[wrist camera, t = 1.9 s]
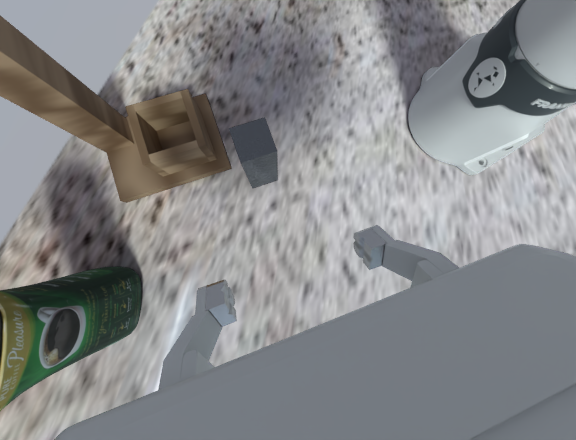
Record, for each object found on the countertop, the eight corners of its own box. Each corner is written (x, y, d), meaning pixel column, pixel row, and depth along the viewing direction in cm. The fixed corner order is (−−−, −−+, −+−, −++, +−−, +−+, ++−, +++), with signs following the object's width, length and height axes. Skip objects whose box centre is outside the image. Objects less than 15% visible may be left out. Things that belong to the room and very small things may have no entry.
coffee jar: (89, 266, 29) (-238, 304, 11) (147, 265, 29) (-72, 300, 11) (82, 339, 28) (-296, 522, 10) (142, 337, 28) (-110, 510, 10)
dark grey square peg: (269, 156, 32) (264, 117, 22) (277, 180, 32) (277, 151, 22) (244, 164, 32) (228, 128, 22) (252, 188, 31) (240, 162, 22)
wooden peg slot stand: (207, 99, 33) (109, -103, 14) (231, 168, 32) (160, 53, 13) (105, 129, 31) (-161, -48, 12) (126, 202, 30) (-131, 132, 11)
